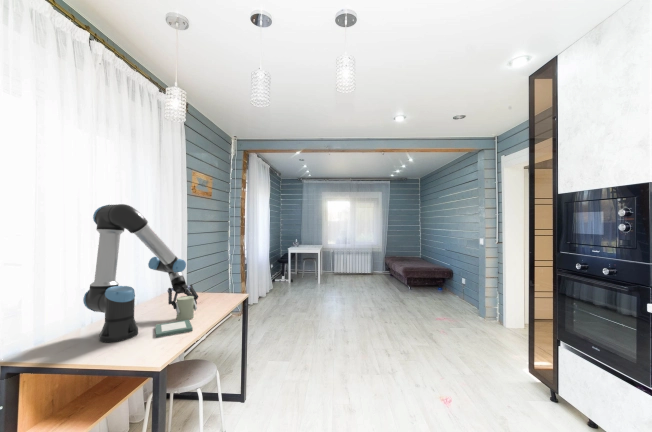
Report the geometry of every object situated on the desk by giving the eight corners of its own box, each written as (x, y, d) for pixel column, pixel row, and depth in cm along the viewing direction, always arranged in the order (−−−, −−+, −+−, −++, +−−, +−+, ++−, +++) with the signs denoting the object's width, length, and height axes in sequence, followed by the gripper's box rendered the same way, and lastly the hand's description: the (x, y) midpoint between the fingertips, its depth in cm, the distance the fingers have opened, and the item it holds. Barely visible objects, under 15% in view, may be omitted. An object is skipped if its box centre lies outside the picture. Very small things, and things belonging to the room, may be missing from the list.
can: (189, 320, 162) (189, 298, 163) (172, 320, 162) (173, 298, 163) (196, 315, 171) (196, 294, 172) (181, 315, 172) (181, 295, 172)
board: (155, 337, 137) (155, 334, 137) (155, 327, 151) (155, 324, 151) (192, 331, 145) (192, 327, 145) (189, 322, 159) (189, 319, 159)
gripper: (193, 281, 186) (204, 311, 174) (156, 286, 170) (165, 319, 159) (197, 273, 182) (208, 303, 171) (159, 278, 167) (168, 311, 155)
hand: (187, 311), depth 165 cm, fingers closed on can, 9 cm apart
